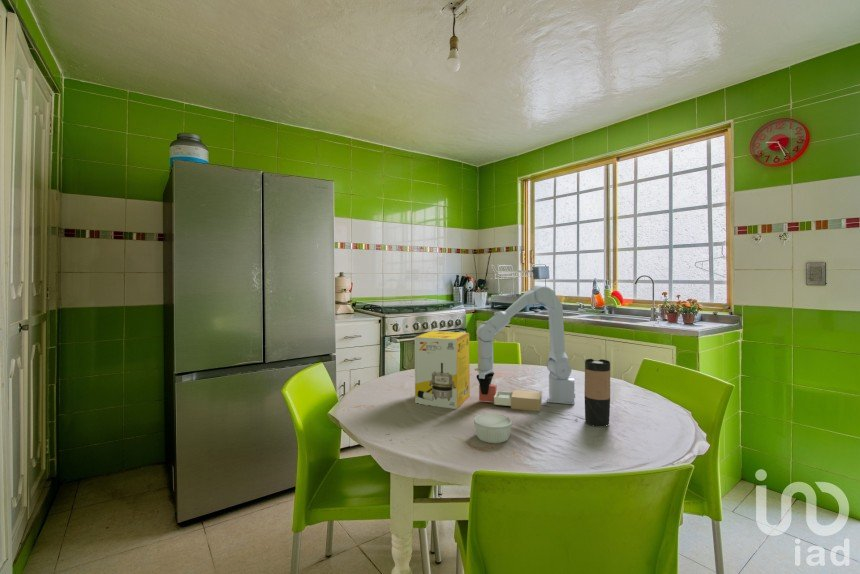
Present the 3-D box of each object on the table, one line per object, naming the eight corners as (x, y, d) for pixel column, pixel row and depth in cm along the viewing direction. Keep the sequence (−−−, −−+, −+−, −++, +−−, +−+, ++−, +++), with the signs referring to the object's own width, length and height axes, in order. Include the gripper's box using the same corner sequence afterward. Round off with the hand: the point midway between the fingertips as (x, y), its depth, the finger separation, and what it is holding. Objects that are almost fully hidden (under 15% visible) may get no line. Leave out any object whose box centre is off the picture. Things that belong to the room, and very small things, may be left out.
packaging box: (415, 403, 150) (414, 337, 149) (431, 391, 165) (430, 330, 164) (456, 409, 144) (456, 339, 143) (469, 396, 159) (469, 332, 158)
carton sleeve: (541, 403, 149) (541, 392, 149) (540, 411, 141) (540, 399, 140) (514, 400, 152) (514, 389, 152) (511, 408, 144) (511, 396, 144)
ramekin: (512, 446, 113) (512, 427, 113) (472, 444, 115) (472, 425, 115) (511, 431, 124) (511, 414, 124) (475, 429, 126) (475, 412, 126)
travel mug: (598, 429, 125) (599, 364, 124) (579, 421, 131) (579, 360, 131) (615, 424, 128) (615, 362, 127) (595, 416, 135) (595, 357, 134)
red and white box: (522, 400, 151) (522, 385, 150) (520, 406, 143) (520, 390, 143) (481, 396, 155) (481, 381, 155) (477, 402, 148) (477, 387, 148)
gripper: (478, 352, 159) (478, 386, 159) (470, 360, 145) (470, 397, 145) (496, 353, 156) (496, 388, 157) (490, 361, 143) (490, 399, 143)
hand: (485, 393), depth 151 cm, fingers closed on red and white box, 2 cm apart
